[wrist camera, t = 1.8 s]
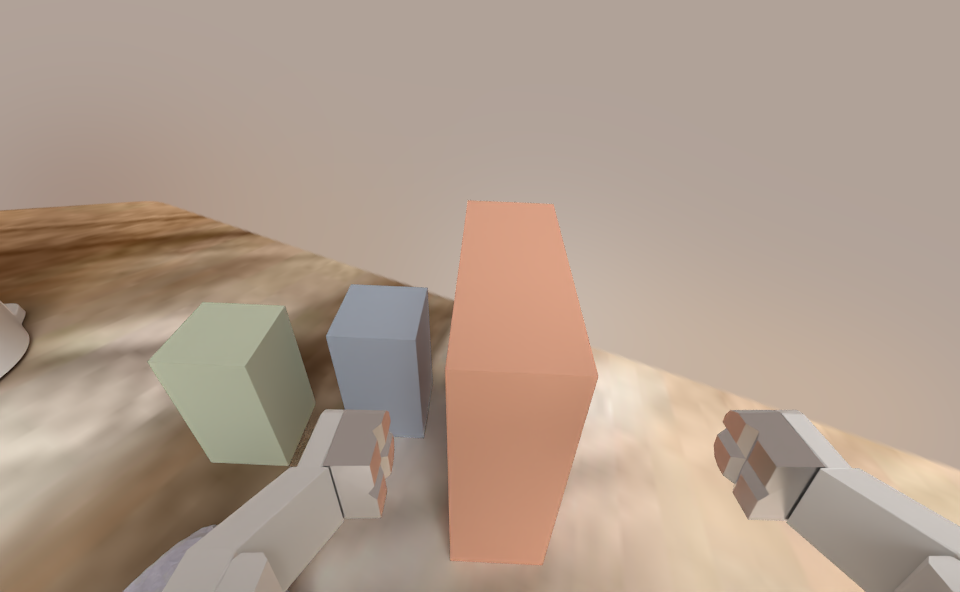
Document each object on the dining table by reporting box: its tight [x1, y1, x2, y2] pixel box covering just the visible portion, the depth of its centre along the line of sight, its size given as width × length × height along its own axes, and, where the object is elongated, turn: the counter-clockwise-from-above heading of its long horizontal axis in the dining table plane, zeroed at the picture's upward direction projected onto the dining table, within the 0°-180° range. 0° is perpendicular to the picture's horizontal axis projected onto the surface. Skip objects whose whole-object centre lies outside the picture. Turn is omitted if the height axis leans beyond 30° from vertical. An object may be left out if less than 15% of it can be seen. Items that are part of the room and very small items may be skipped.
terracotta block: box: [445, 200, 598, 565], centre depth 28 cm, size 6×16×18 cm, turn 178°
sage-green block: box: [148, 302, 316, 466], centre depth 31 cm, size 6×6×11 cm
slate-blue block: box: [326, 284, 433, 438], centre depth 33 cm, size 6×6×11 cm
